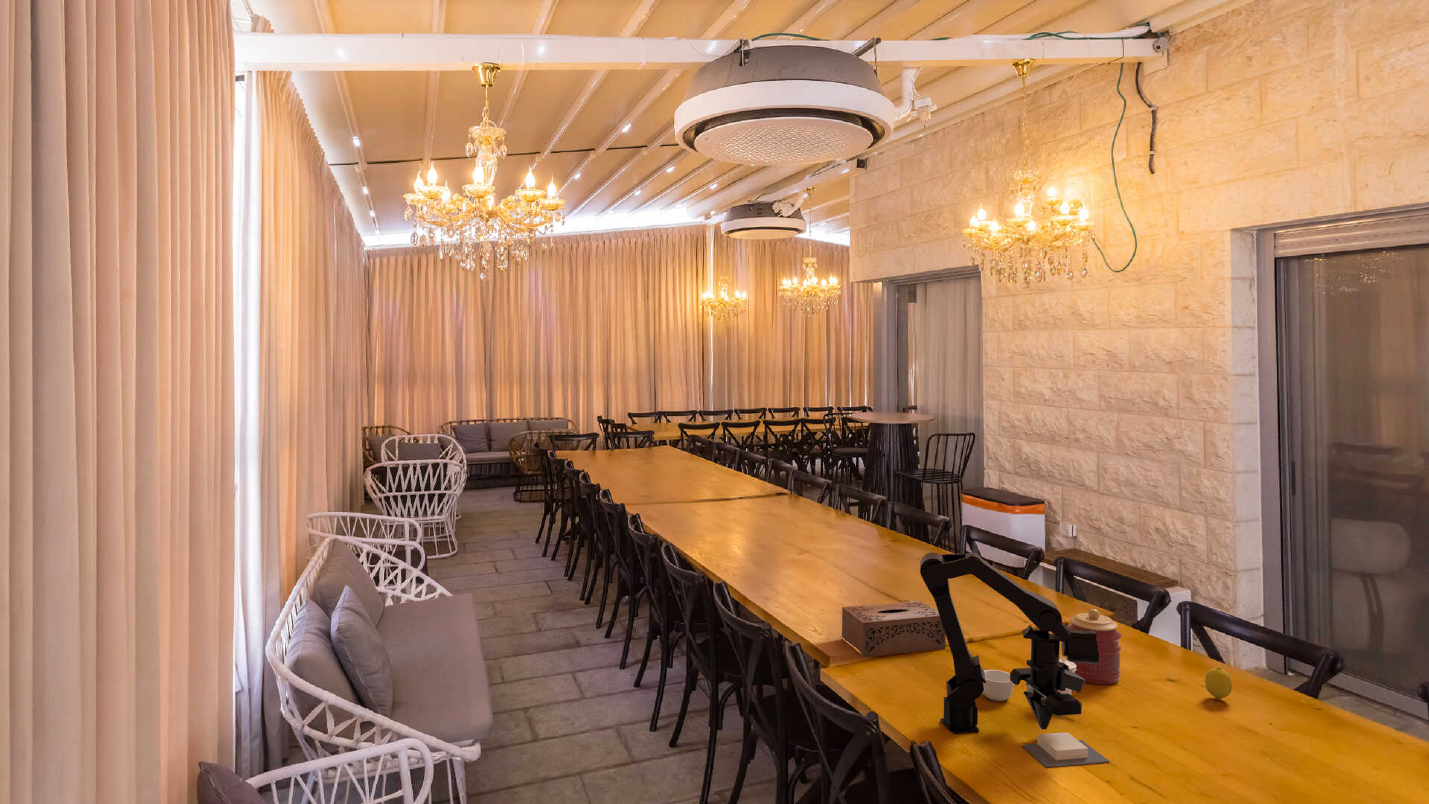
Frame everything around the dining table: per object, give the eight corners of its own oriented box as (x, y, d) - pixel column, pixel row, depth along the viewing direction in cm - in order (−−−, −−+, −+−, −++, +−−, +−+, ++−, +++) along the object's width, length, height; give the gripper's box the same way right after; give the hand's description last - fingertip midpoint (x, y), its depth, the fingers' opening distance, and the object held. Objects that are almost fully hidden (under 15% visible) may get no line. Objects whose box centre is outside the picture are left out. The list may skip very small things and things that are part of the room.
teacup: (1007, 707, 184) (1007, 685, 184) (975, 698, 189) (975, 676, 189) (1020, 693, 192) (1020, 672, 192) (989, 685, 197) (989, 664, 196)
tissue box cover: (863, 658, 216) (863, 622, 215) (841, 640, 230) (842, 607, 229) (945, 649, 222) (946, 615, 222) (920, 632, 236) (920, 600, 236)
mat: (1046, 767, 156) (1046, 766, 156) (1022, 746, 165) (1022, 744, 165) (1109, 762, 158) (1109, 761, 158) (1082, 741, 167) (1082, 740, 167)
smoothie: (1059, 710, 182) (1060, 651, 182) (1040, 698, 189) (1041, 642, 188) (1081, 706, 184) (1083, 649, 184) (1062, 695, 190) (1064, 639, 190)
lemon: (1206, 692, 192) (1207, 661, 192) (1233, 698, 189) (1234, 666, 188) (1203, 700, 188) (1203, 667, 188) (1230, 706, 184) (1231, 673, 184)
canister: (1115, 690, 194) (1116, 620, 193) (1059, 677, 202) (1061, 610, 201) (1124, 673, 204) (1126, 607, 203) (1071, 662, 212) (1073, 598, 211)
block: (1037, 744, 165) (1056, 760, 158) (1037, 734, 165) (1056, 750, 158) (1067, 741, 166) (1087, 757, 159) (1067, 732, 166) (1087, 748, 159)
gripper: (1106, 673, 160) (1104, 747, 161) (1054, 641, 179) (1052, 708, 180) (1056, 676, 159) (1055, 750, 160) (1009, 644, 177) (1007, 711, 178)
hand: (1043, 728), depth 169 cm, fingers closed
